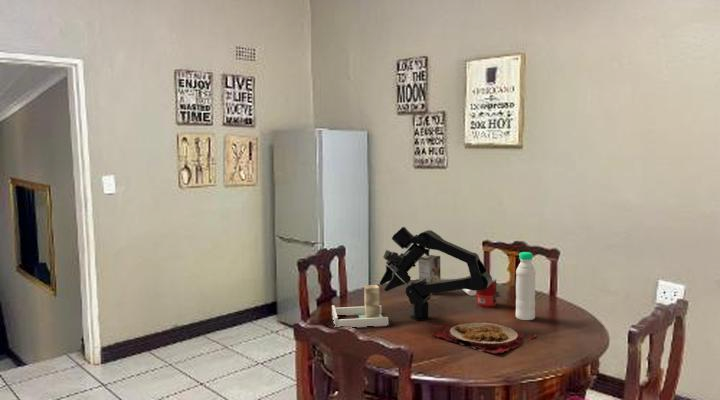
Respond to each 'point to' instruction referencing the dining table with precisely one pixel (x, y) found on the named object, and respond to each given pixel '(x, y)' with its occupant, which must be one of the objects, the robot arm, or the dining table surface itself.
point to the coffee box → (429, 268)
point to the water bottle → (525, 288)
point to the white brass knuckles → (469, 292)
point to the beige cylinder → (371, 301)
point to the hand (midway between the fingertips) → (382, 287)
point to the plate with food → (483, 336)
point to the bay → (361, 320)
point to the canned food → (487, 295)
